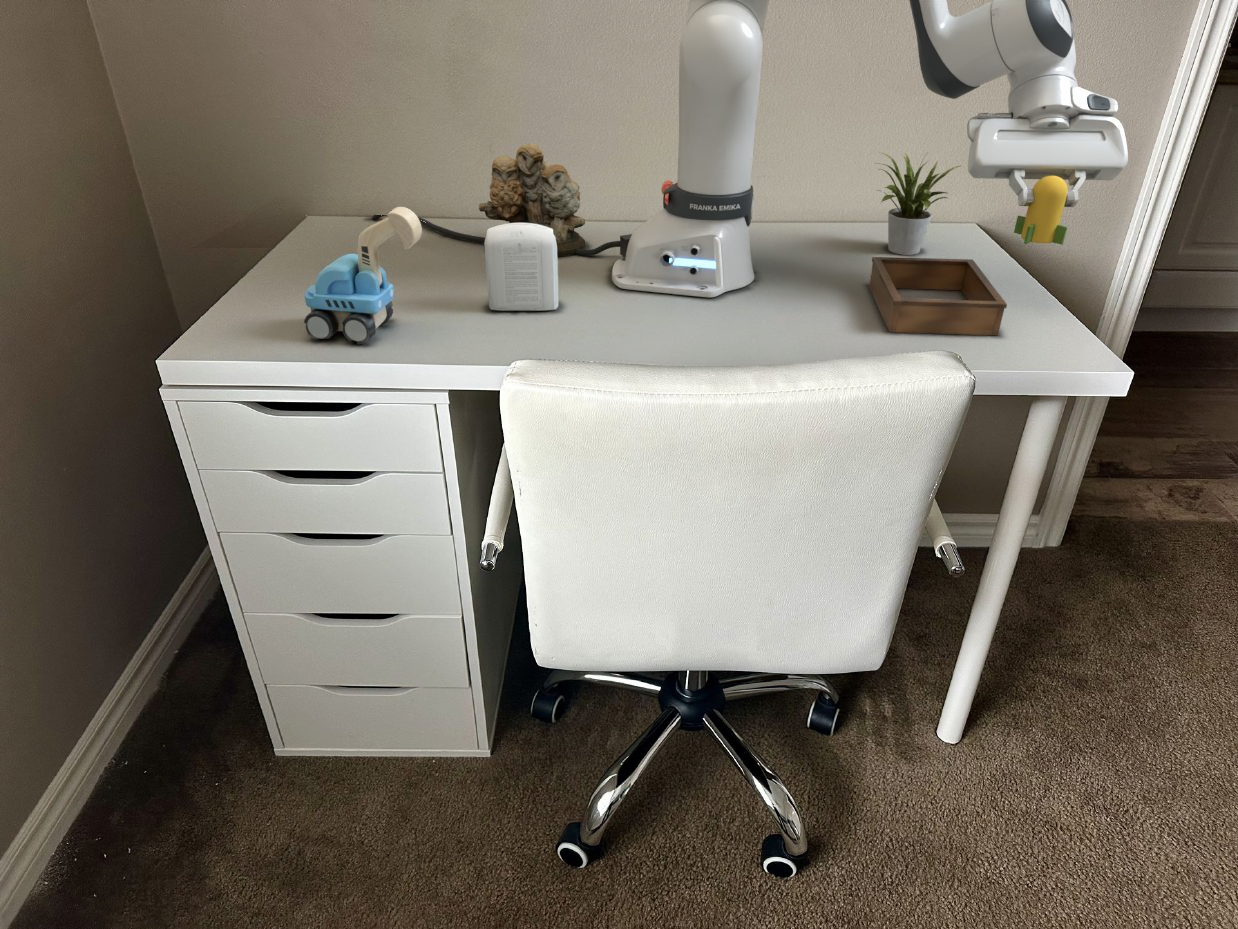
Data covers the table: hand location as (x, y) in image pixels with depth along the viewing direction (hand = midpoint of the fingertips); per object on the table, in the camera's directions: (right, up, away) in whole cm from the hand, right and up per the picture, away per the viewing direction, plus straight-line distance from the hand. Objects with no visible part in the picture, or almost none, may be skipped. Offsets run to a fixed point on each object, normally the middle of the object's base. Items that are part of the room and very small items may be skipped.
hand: (1048, 204), depth 119 cm
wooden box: (-13, -13, +9) cm, 20 cm away
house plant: (-11, +2, +32) cm, 33 cm away
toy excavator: (-92, -17, +2) cm, 94 cm away
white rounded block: (-72, -12, +10) cm, 74 cm away
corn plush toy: (0, -4, +3) cm, 5 cm away
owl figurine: (-73, +2, +33) cm, 80 cm away
